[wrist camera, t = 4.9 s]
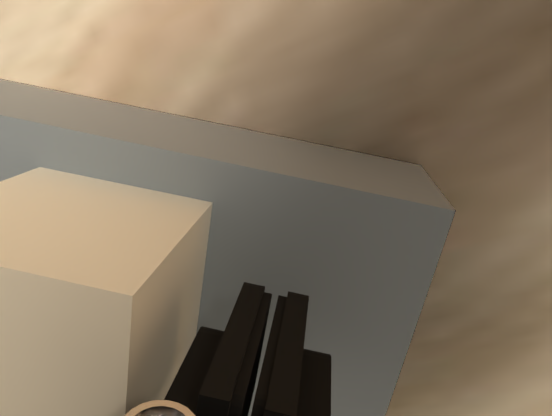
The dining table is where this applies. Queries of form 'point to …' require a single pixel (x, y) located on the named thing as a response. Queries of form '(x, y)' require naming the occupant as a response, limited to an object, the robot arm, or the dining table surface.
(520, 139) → the dining table surface
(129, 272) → the block
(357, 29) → the dining table surface
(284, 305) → the robot arm
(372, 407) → the box
